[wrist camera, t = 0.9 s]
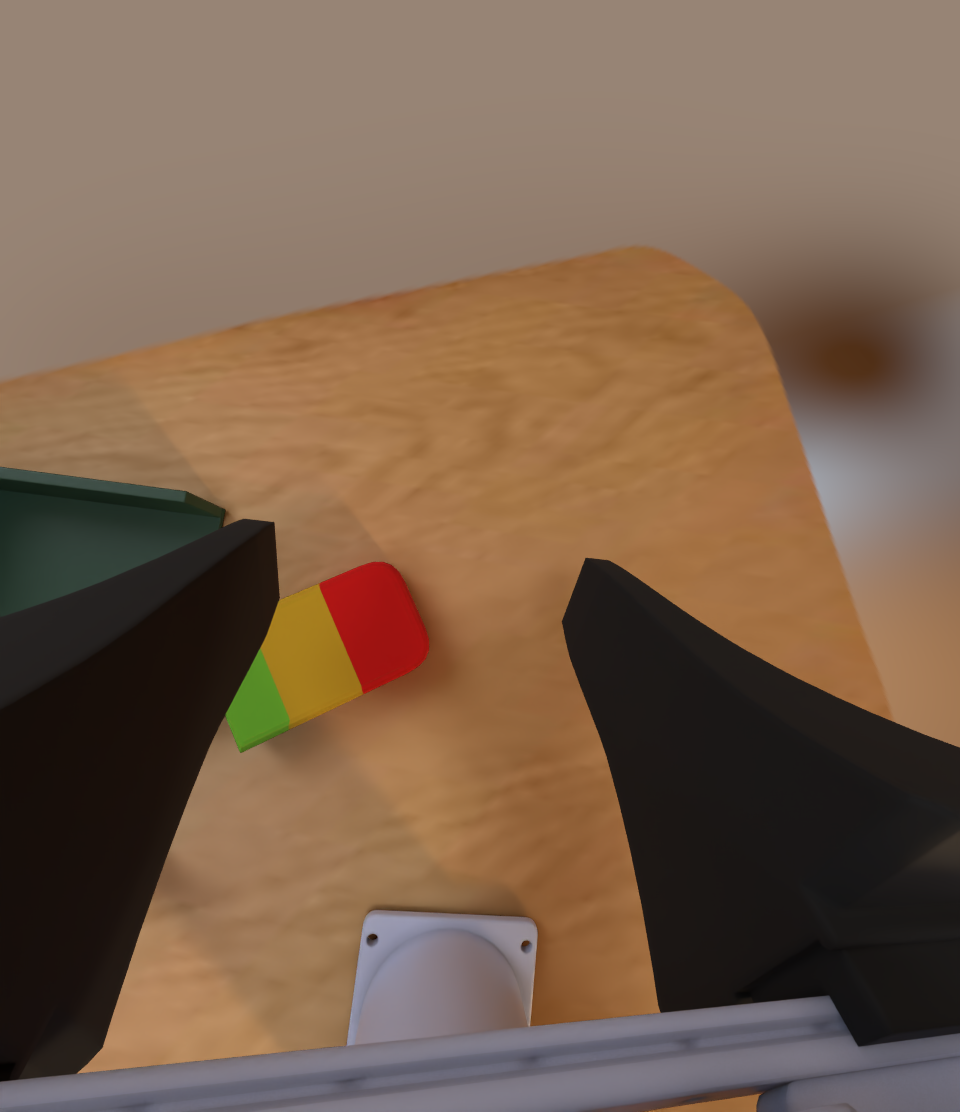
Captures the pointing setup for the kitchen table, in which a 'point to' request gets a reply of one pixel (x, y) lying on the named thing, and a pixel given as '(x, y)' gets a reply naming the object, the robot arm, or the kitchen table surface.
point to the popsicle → (328, 651)
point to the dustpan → (86, 532)
